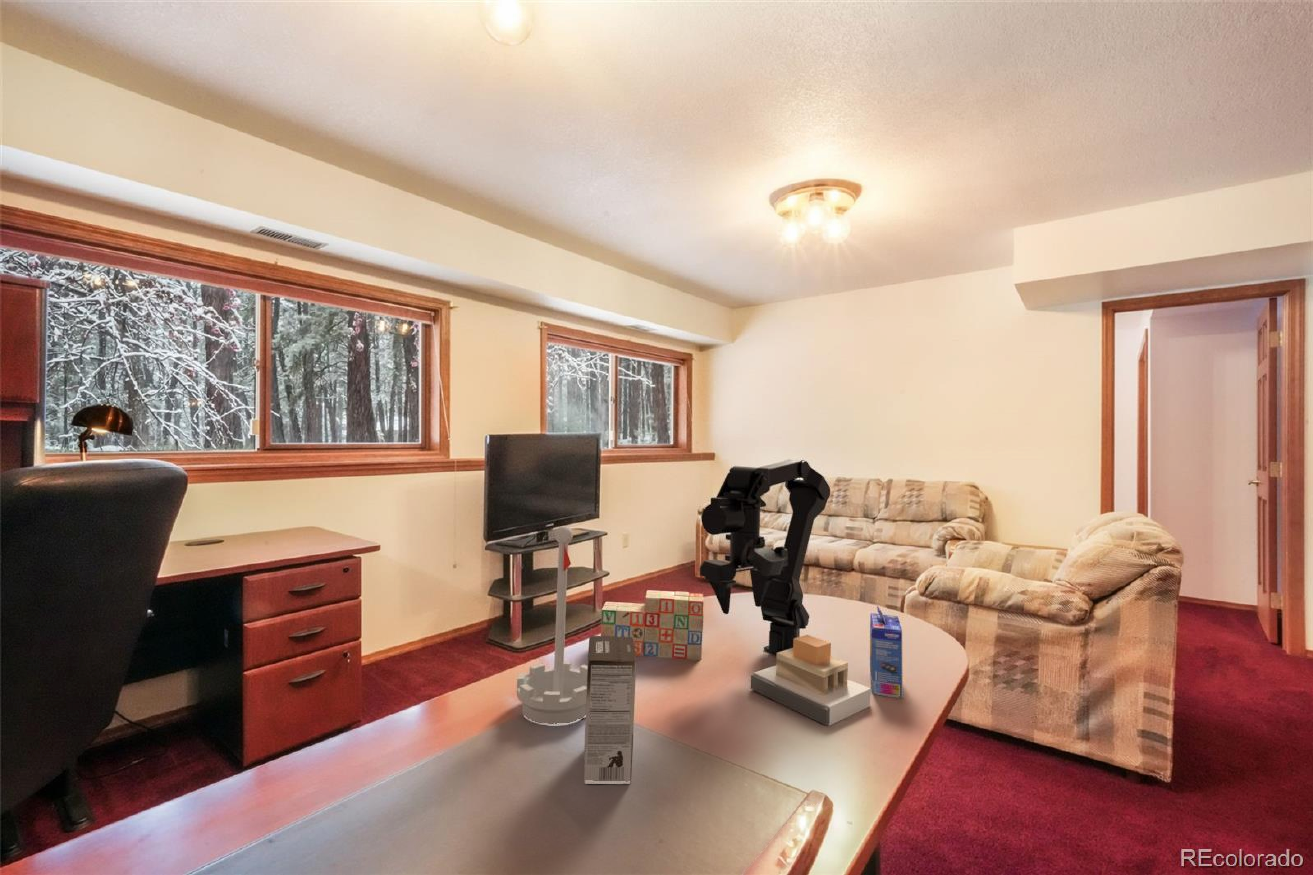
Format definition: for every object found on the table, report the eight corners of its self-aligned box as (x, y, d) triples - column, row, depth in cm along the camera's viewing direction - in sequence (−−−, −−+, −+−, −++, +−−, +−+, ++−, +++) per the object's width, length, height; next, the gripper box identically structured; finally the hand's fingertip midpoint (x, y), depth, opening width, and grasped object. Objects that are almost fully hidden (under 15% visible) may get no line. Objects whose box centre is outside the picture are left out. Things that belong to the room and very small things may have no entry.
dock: (794, 674, 109) (795, 658, 109) (870, 706, 96) (870, 688, 96) (750, 690, 101) (750, 673, 101) (826, 727, 88) (826, 708, 88)
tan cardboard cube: (806, 651, 102) (807, 634, 102) (830, 659, 98) (830, 642, 98) (793, 655, 100) (793, 638, 100) (816, 664, 96) (817, 647, 96)
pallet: (800, 666, 105) (800, 645, 105) (847, 685, 97) (847, 662, 97) (775, 675, 101) (776, 652, 101) (823, 695, 93) (823, 671, 93)
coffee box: (585, 747, 80) (589, 634, 80) (629, 747, 81) (633, 635, 81) (581, 786, 71) (586, 659, 71) (632, 785, 72) (637, 659, 72)
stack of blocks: (599, 654, 116) (601, 594, 116) (604, 643, 122) (606, 587, 123) (702, 660, 115) (704, 600, 115) (701, 649, 121) (703, 592, 121)
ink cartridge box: (868, 673, 110) (870, 600, 111) (898, 678, 109) (900, 604, 109) (869, 694, 101) (872, 614, 101) (902, 699, 99) (905, 618, 100)
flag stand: (510, 698, 95) (517, 521, 95) (584, 687, 100) (590, 519, 100) (523, 736, 83) (531, 533, 83) (607, 721, 88) (614, 531, 88)
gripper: (742, 540, 98) (739, 629, 97) (808, 533, 109) (805, 613, 109) (699, 531, 106) (696, 613, 106) (764, 525, 118) (761, 599, 118)
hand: (742, 609), depth 110 cm, fingers open, 9 cm apart
